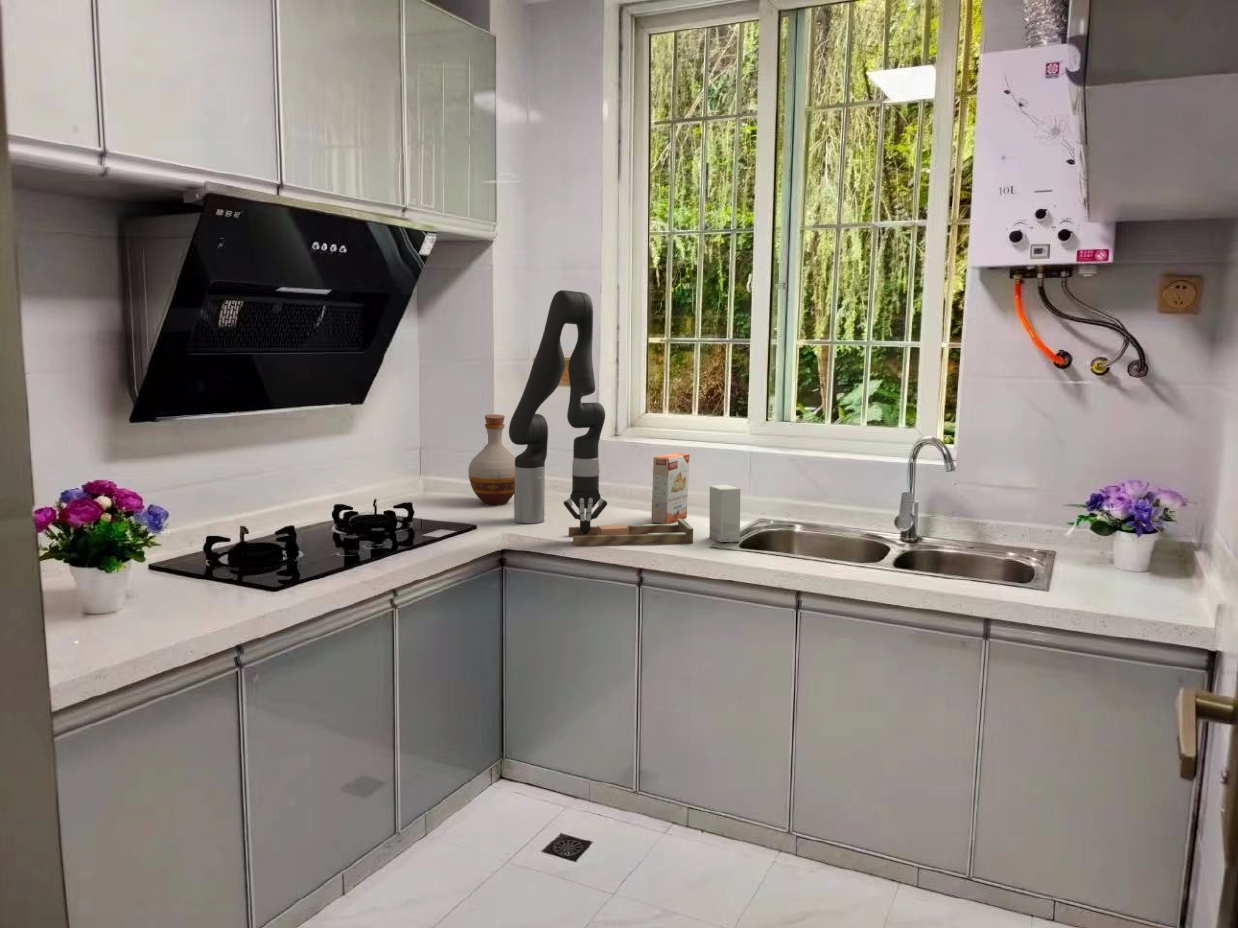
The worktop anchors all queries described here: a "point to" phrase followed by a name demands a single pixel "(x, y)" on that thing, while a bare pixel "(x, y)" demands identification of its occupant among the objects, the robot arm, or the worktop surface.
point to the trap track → (637, 535)
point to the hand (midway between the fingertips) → (585, 533)
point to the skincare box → (725, 513)
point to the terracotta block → (612, 530)
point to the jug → (493, 466)
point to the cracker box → (670, 488)
